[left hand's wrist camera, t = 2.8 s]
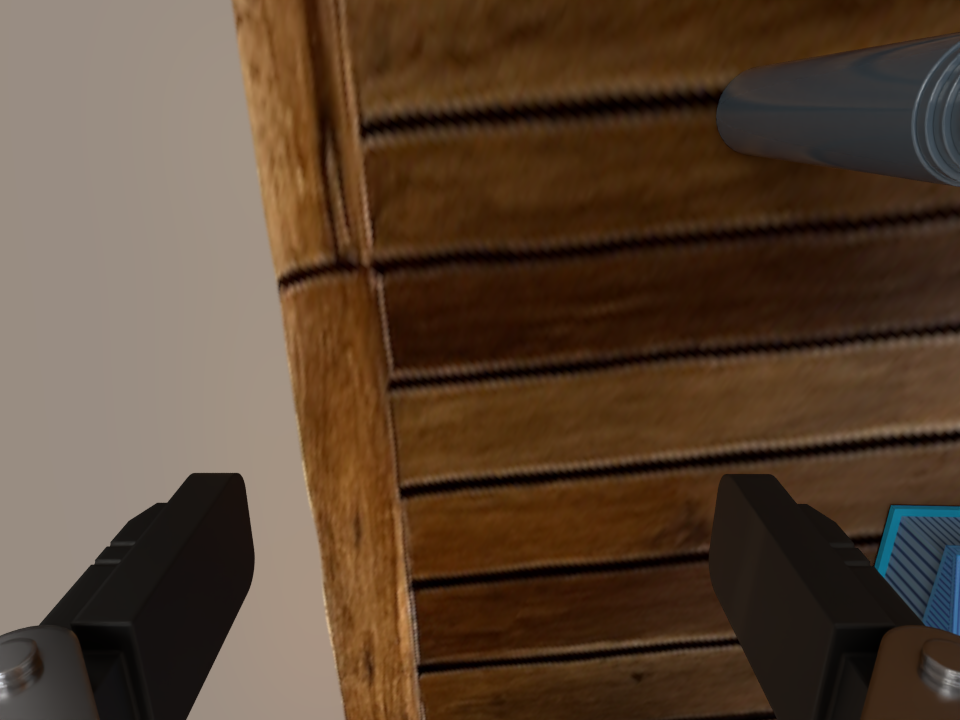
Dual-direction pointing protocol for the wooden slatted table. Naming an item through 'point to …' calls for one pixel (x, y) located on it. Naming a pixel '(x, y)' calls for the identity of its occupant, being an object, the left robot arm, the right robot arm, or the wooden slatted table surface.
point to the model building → (924, 562)
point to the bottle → (854, 110)
